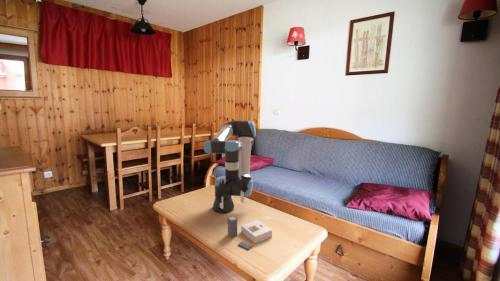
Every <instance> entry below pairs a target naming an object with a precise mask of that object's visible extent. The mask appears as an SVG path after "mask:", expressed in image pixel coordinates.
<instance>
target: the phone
mask: <svg viewBox="0 0 500 281" xmlns="http://www.w3.org/2000/svg"><path fill="white" fill-rule="evenodd" d="M237 246H238V247H239V248H242V249H243V250H244V249H245V250H247V251H249V250H251V249H252V248H253V246H252V245H250V244H248V243H246V242H243V241H241V242H240V243H238V244H237Z"/></svg>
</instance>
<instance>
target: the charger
mask: <svg viewBox="0 0 500 281" xmlns="http://www.w3.org/2000/svg"><path fill="white" fill-rule="evenodd" d="M227 235H228V237H230V238H231V239H232V238H234V237H236V236H238V219H237V218H236V217H235V216H232V217H228V218H227Z"/></svg>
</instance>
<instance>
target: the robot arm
mask: <svg viewBox="0 0 500 281" xmlns="http://www.w3.org/2000/svg"><path fill="white" fill-rule="evenodd" d="M256 130H257V129H256V123H255V122H254V121H253V120H230V121H228V122H226V123H224V124H223V125H221V127H220V128H219V131H218V132H217V133H216V135H214V137H213V138H212V139H211V140H205V141H204V144H203V151H204V153H206V154H213V155H214V154H215V155H216V154H218V155H219V154H222V155H224V159H225V160H224V168H225V169H224V174H225V175H222V176H217V177H216V178H215V180H214V201H213V205H212V210H213V211H214V212H215V213H219V214H227V213H230V212H232V211H234V209H235V204H234V201H233V198H232V197H234V196H235V197H240V202H241V203H242V204H245V197H250V196H251V195H252V192H253V187H254V180H253V179H252V176H251V175H250V173H251V172H250V169H251V167H250V165H251V155H252V154H251V153H252V152H251V151H252V141H254V138H256V136H257V133H256ZM230 137H237V139H236V140H235V139H233V140H231V139H229V138H230ZM228 139H229V140H228Z"/></svg>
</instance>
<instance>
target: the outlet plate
mask: <svg viewBox="0 0 500 281" xmlns="http://www.w3.org/2000/svg"><path fill="white" fill-rule="evenodd" d="M240 231H241V233H242V234H243V235H245V236H246V237H247V239H249V240H250V241H252V243H254V244H257V243H260V242H262V241H264V240H267V239H269V238H271V237H273V229H271V228H270V227H268V226H267V225H266V224H265V223H263V222H261V221H260V220H259V219H255V220H253V221H250V222H247V223H245V224H241V225H240Z"/></svg>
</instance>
